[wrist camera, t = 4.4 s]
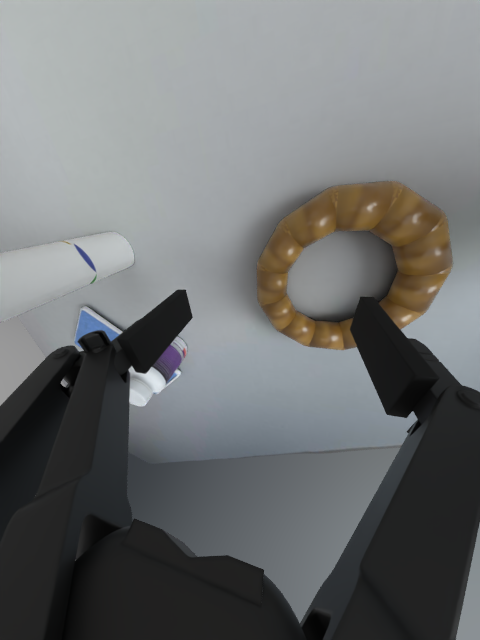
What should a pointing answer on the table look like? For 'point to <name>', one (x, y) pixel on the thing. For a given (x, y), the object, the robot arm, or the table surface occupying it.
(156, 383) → the pill bottle
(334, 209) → the ring
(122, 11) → the table surface
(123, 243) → the tube
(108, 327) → the tablet
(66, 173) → the table surface
